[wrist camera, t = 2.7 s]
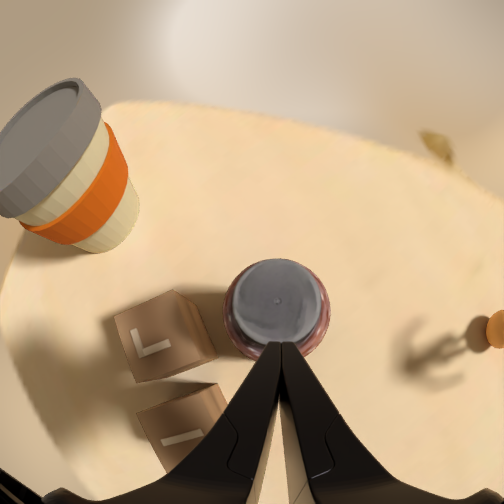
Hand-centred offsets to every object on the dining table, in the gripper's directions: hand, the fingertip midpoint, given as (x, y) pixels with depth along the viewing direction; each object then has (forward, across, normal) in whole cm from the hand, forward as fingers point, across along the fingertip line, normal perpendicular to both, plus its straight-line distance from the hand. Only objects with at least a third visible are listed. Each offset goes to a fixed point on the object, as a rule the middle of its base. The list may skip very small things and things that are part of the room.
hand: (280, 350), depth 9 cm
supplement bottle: (+11, 0, +8) cm, 14 cm away
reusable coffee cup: (+19, +19, +1) cm, 27 cm away
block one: (+5, +6, +14) cm, 16 cm away
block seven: (+10, +8, +10) cm, 16 cm away
